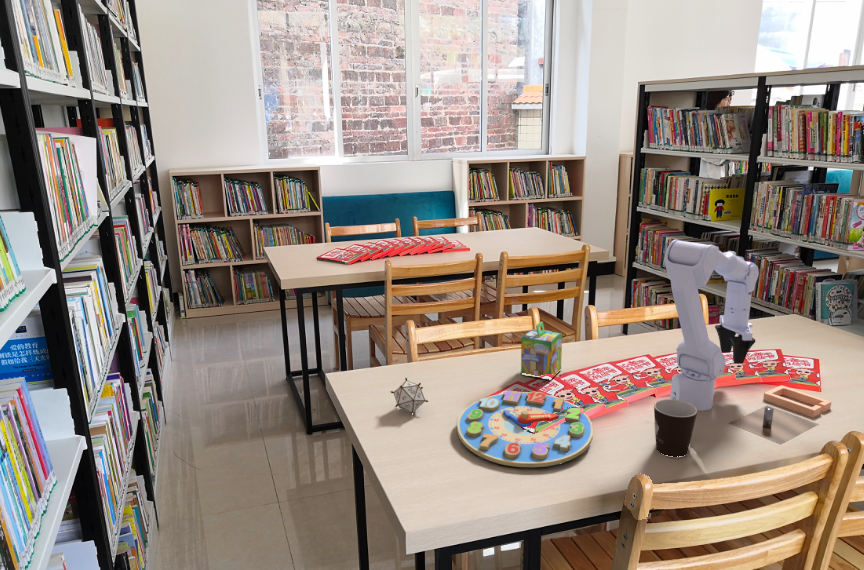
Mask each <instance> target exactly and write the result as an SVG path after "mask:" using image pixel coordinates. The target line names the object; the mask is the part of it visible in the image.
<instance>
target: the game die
mask: <svg viewBox="0 0 864 570" xmlns="http://www.w3.org/2000/svg"><path fill="white" fill-rule="evenodd" d="M404 380H405V381H404V382H403V383H401V385H399V387H398V388H396V390H394V391H393V390H391V391H390V393H391V394H393V396H394V399H395V402H396V404H395V408H397V407H398V408H401V409H400V410H404V411H406V412H408V413H411V414H412V413H413V414H414V413H415V412H416V410H418V409H419V408H420V407H421V406H422V405H424V403H425V402H426V403H428V402H429V400H428V399H426V398H425V396H424V393H423V391H422V390H423V389H424V387H423V386H421V385H422V383H421V382H419V383H418V384H417V383H414V382H412V381H409V380H408V378H407V377H405V378H404Z"/></svg>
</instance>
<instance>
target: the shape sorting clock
mask: <svg viewBox="0 0 864 570" xmlns="http://www.w3.org/2000/svg"><path fill="white" fill-rule="evenodd" d="M574 406H576V405H575V404H574V403H571V402H570V401H567V400H565V398H564V397H557V396H553V395H549V394H546V393H545V392H541V391H529V392H528V391H514V390H507V391H503V393H498V394H494V395H490V396H485V397H483V398H480V399H479V400H477V401H474V402H472V403H471V404H469V405H468V406H467V407H466V408H464V409H463V410H462V412H461V413H460V414H459V416H458V418H457V423H456V425H457V426H456V429H457V434H458V438H459V440H460V441H461V443H462V444H463V445H464V447H466V448H467V449H468V450H469V451H471V452H472V453H474V454H475V455H477V456H479V457H480V458H482V459H485V460H487V461H490V462H492V463H496V464H499V465H503V466H509V467H518V468H544V467H550V466H555V465H561V464H560V463H562V464H564V463H566V462H568V461H571V460H574V459H576V458H578V457H579V456H580V455H582V454H583V453H584V452H585V451H586V450H587V449H588V448H589V446H590V445H591V443H592V441H593V438H594V426H593V423H592V421H591V419H590V417H589V416H588V414H586V413H585V412H584V413H582V414H581V411H580V409H581V408H579V407H578V408H579V409H578V408H571V407H574ZM567 407H568V408H569V407H570V409H568V410H567V415H566V416H565V421H566V422H564V423H562V424H559V425H557V426H554V427H553V428H550V429H548V430H545V431H542V432H539V433H535V434H532V433H529V432H525V431H524V430H522V428H521V427H526V426H530V425H531V423H533V422H540V421H553V420H556V419H558V418H559V415H557V414H553V413H554V412H560V411H561V409H562V408H563V409H567ZM553 411H554V412H553ZM518 425H519V426H518ZM520 426H521V427H520Z"/></svg>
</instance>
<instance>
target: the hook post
mask: <svg viewBox="0 0 864 570" xmlns="http://www.w3.org/2000/svg"><path fill="white" fill-rule="evenodd" d="M764 407H765V406H764ZM770 407H771V406H770ZM770 407H765V410H764V418H763V427H764V428H766V429H771V427H772V419H773V411H774V409H773V408H774V407H773V408H770Z"/></svg>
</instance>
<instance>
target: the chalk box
mask: <svg viewBox="0 0 864 570" xmlns="http://www.w3.org/2000/svg"><path fill="white" fill-rule="evenodd" d="M535 326H536V329H535V328H533V329H530V330H529V331H528V332H526V333H525V334H524V335H522V336H521V337H520V341H521V342H520V343H521V347H520V349H521V353H520V355H521V357H520V358H521V359H520V360H521V361H520V367H521V369H520V373H521V372H522V373H526V374H531V375H535V376H541V375H545V374H553V375H556V374H557V372H558V371H559V370H560V369H561V370H562V357H563V356H562V353H563V352H562V351H563V333H561V332H554V331H551V330H545V327H544V321H540V322H538V323H537V324H536V325H535ZM540 328H541V329H540ZM557 375H558V374H557ZM557 375H556V376H557Z"/></svg>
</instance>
